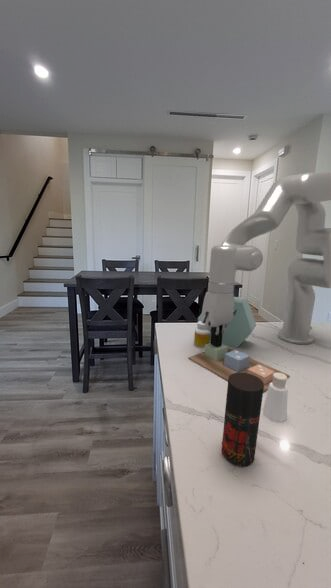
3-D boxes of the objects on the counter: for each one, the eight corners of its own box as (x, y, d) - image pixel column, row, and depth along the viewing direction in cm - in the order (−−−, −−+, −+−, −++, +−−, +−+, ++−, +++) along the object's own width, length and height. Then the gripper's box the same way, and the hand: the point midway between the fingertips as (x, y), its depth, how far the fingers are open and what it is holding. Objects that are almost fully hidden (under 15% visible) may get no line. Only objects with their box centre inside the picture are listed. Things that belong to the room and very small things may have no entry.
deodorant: (217, 441, 52) (224, 372, 49) (247, 440, 53) (255, 372, 49) (226, 468, 46) (234, 391, 43) (259, 466, 47) (270, 391, 44)
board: (221, 350, 93) (222, 345, 92) (288, 381, 74) (289, 375, 74) (188, 363, 83) (188, 357, 82) (255, 402, 65) (256, 395, 64)
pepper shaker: (265, 408, 63) (271, 366, 60) (289, 419, 59) (297, 374, 57) (256, 420, 58) (262, 375, 56) (282, 432, 55) (290, 385, 53)
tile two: (234, 361, 82) (235, 349, 81) (248, 368, 78) (249, 355, 77) (223, 366, 79) (225, 353, 78) (237, 373, 75) (239, 359, 74)
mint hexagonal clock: (230, 352, 102) (266, 314, 92) (224, 360, 95) (263, 320, 86) (197, 322, 106) (229, 283, 97) (189, 328, 99) (222, 286, 90)
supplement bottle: (208, 353, 90) (210, 326, 88) (193, 351, 91) (194, 324, 89) (209, 346, 95) (211, 320, 93) (194, 344, 96) (196, 319, 94)
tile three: (256, 376, 76) (258, 363, 75) (273, 385, 72) (275, 371, 71) (246, 382, 73) (247, 368, 72) (262, 391, 69) (264, 376, 68)
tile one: (214, 352, 88) (215, 340, 87) (226, 358, 84) (227, 345, 83) (204, 356, 85) (205, 344, 84) (216, 362, 81) (217, 349, 80)
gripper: (227, 283, 86) (222, 336, 91) (193, 287, 77) (190, 346, 82) (246, 287, 81) (240, 344, 85) (213, 293, 72) (208, 355, 76)
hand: (215, 345), depth 83 cm, fingers closed
